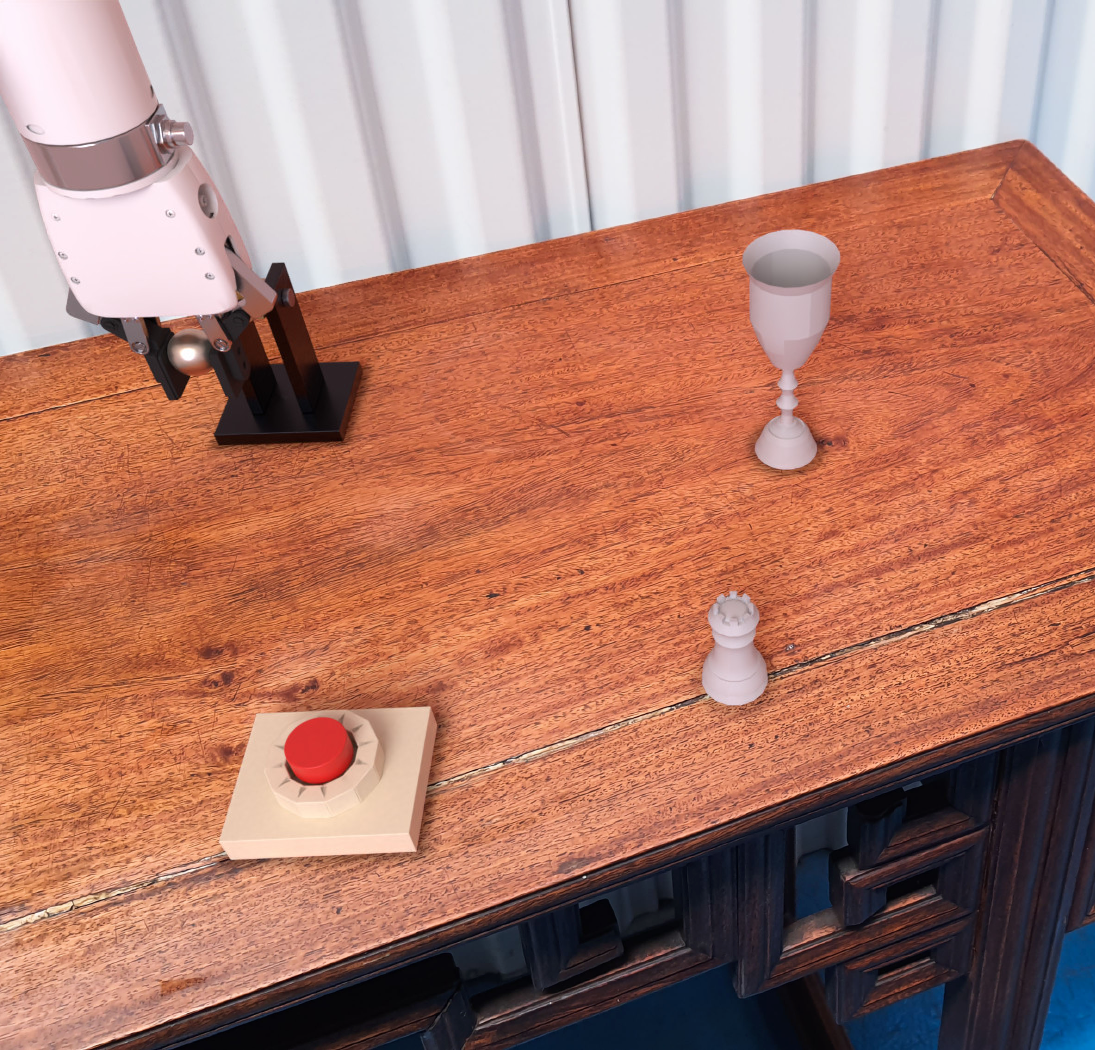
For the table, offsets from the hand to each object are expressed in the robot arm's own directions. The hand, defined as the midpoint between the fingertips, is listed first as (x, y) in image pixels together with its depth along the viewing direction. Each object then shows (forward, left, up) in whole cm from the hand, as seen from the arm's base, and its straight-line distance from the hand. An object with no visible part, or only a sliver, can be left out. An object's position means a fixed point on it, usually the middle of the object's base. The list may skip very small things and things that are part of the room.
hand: (208, 384), depth 81 cm
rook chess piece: (+36, -19, -12) cm, 42 cm away
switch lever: (0, +5, 0) cm, 5 cm away
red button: (+11, -26, -8) cm, 29 cm away
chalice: (+41, +4, -12) cm, 43 cm away
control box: (+11, -26, -12) cm, 30 cm away
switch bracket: (0, +11, -12) cm, 16 cm away
